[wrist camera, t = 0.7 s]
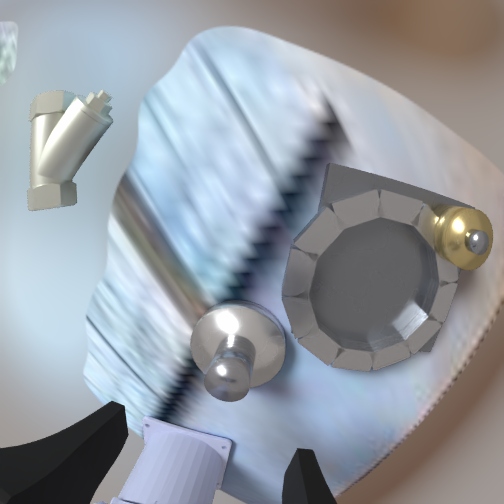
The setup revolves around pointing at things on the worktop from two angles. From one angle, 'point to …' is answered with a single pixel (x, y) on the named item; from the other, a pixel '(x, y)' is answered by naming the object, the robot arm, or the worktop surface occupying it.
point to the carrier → (378, 268)
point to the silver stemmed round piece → (237, 348)
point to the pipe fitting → (62, 143)
